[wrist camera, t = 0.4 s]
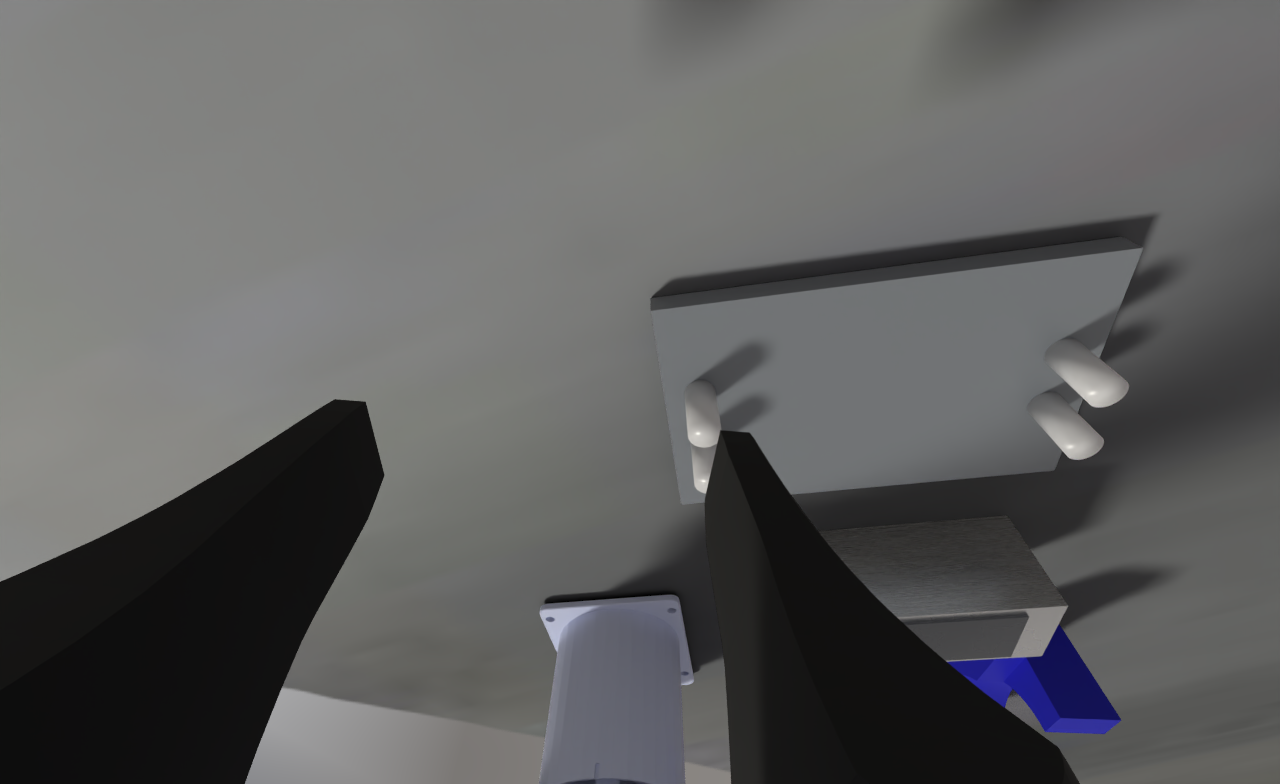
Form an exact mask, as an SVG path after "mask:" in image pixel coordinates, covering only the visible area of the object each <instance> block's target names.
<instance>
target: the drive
mask: <svg viewBox="0 0 1280 784" xmlns="http://www.w3.org/2000/svg"><path fill="white" fill-rule="evenodd" d="M818 532H819V533H820V534H821V536H822V537H823V538H824V539H825V540H826V542H827V543H828V544H829V545H830V547H831V548H832V549H833V550H834V552H835V553H836V554H837V555H838V556H839V557H840V559H841V560H842V561H843V562H844V563H845V564H846V565H847V567H848V568H849V569H850V570H851V571H852V572H853V573H854V574H855V575H856V576H857V578H858V579H859V580H860V581H861V582H862V583H863V584H864V585H865V586H866V587H867V588H868V589H869V590H870V591H871V592H872V593H873V595H874V596H875V597H876V598H877V599H878V600H880V601H881V602H882V603H883V604H884V605H885V606H886V607H887V608H888V609H889V610H890V611H891V612H892V613H893V614H894V615H895V616H896V617H897V618H898V619H899V620H900V621H902V622H903V623H904V624H905V625H906V626H907V627H908V628H909V629H910V630H911V631H912V632H913V633H915V634H916V635H917V636H918V637H919V638H920V639H921V640H922V641H923V642H924V643H925V644H927V645H928V646H929V647H930V648H931V649H932V650H933V651H935V652H936V653H937V654H938V655H939V656H940V657H942V658H943V659H944V660H945V661H946V662H951V661H968V660H985V659H1002V658H1019V657H1037V656H1042V655H1043V653H1044V651H1045V649H1046V648H1047V646H1048V644H1049V642H1050V640H1051V638H1052V636H1053V634H1054V632H1055V630H1056V628H1057V626H1058V625H1059V623H1060V621H1061V619H1062V617H1063V615H1064V613H1065V611H1066V609H1067V607H1068V605H1067V603H1066V602H1065V600H1064V599H1063V597H1062V596H1061V594H1060V593H1059V591H1058V590H1057V588H1056V587H1055V585H1054V584H1053V582H1052V581H1051V580H1050V578H1049V577H1048V575H1047V574H1046V572H1045V571H1044V569H1043V568H1042V566H1041V565H1040V563H1039V562H1038V560H1037V559H1036V557H1035V556H1034V554H1033V553H1032V551H1031V550H1030V548H1029V547H1028V545H1027V544H1026V542H1025V541H1024V539H1023V538H1022V536H1021V535H1020V534H1019V532H1018V531H1017V529H1016V528H1015V526H1014V525H1013V523H1012V522H1011V520H1010V519H1009V517H1008V516H1007V515H1006V516H994V517H982V518H970V519H958V520H946V521H934V522H922V523H910V524H898V525H886V526H874V527H862V528H851V529H839V530H827V531H818Z"/></svg>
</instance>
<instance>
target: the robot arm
mask: <svg viewBox="0 0 1280 784" xmlns="http://www.w3.org/2000/svg"><path fill="white" fill-rule="evenodd" d="M383 478H384V472H383V468H382V464H381V460H380V456H379V452H378V448H377V445H376V441H375V437H374V433H373V429H372V425H371V421H370V417H369V413H368V409H367V405H366V402H361V401H349V400H336V399H335V400H333V401H331V402H330V403H328V404H326V405H324V406H323V407H321V408H320V409H318V410H316V411H315V412H313V413H312V414H310V415H309V416H307V417H305V418H304V419H302V420H301V421H299V422H298V423H296V424H295V425H293V426H292V427H290V428H289V429H287V430H285V431H284V432H282V433H281V434H279V435H278V436H276V437H275V438H273V439H272V440H270V441H269V442H267V443H265V444H264V445H262V446H261V447H259V448H258V449H256V450H254V451H253V452H251V453H250V454H248V455H247V456H245V457H244V458H242V459H240V460H239V461H237V462H236V463H234V464H232V465H231V466H229V467H227V468H226V469H224V470H222V471H221V472H219V473H217V474H216V475H214V476H212V477H211V478H209V479H207V480H205V481H204V482H202V483H200V484H199V485H197V486H195V487H194V488H192V489H190V490H189V491H187V492H185V493H183V494H182V495H180V496H178V497H177V498H175V499H173V500H171V501H169V502H168V503H166V504H164V505H162V506H160V507H159V508H157V509H155V510H153V511H151V512H149V513H147V514H145V515H144V516H142V517H140V518H138V519H136V520H134V521H132V522H130V523H128V524H126V525H124V526H122V527H120V528H118V529H116V530H114V531H112V532H110V533H108V534H106V535H104V536H102V537H100V538H98V539H96V540H93V541H91V542H89V543H87V544H85V545H82V546H80V547H78V548H76V549H74V550H71V551H69V552H67V553H65V554H62V555H60V556H58V557H56V558H53V559H51V560H49V561H47V562H44V563H42V564H40V565H38V566H36V567H33V568H31V569H29V570H27V571H24V572H22V573H20V574H18V575H15V576H13V577H10V578H8V579H6V580H3V581H1V582H0V784H245V781H246V779H247V776H248V773H249V770H250V768H251V765H252V762H253V759H254V757H255V754H256V751H257V748H258V746H259V743H260V741H261V738H262V736H263V733H264V731H265V728H266V726H267V723H268V720H269V718H270V715H271V713H272V711H273V708H274V706H275V703H276V701H277V698H278V696H279V693H280V690H281V688H282V686H283V684H284V681H285V679H286V677H287V674H288V672H289V670H290V667H291V665H292V663H293V660H294V658H295V656H296V653H297V651H298V649H299V646H300V644H301V642H302V640H303V638H304V636H305V634H306V632H307V630H308V628H309V626H310V624H311V622H312V620H313V618H314V616H315V614H316V612H317V611H318V609H319V607H320V605H321V603H322V602H323V600H324V598H325V596H326V594H327V593H328V591H329V589H330V587H331V585H332V584H333V582H334V580H335V578H336V576H337V575H338V573H339V571H340V569H341V567H342V566H343V564H344V562H345V560H346V558H347V557H348V555H349V553H350V551H351V549H352V547H353V546H354V544H355V542H356V540H357V538H358V536H359V535H360V533H361V531H362V529H363V527H364V525H365V523H366V521H367V520H368V517H369V515H370V512H371V510H372V507H373V505H374V502H375V500H376V497H377V494H378V491H379V489H380V486H381V483H382V480H383ZM705 525H706V545H707V552H708V558H709V565H710V571H711V578H712V584H713V590H714V597H715V603H716V609H717V615H718V622H719V628H720V634H721V641H722V647H723V656H724V664H725V677H726V693H727V708H728V726H729V746H730V765H731V784H1080V783H1079V781H1078V780H1077V778H1076V776H1075V774H1074V773H1073V771H1072V769H1071V768H1070V766H1069V764H1068V762H1067V761H1066V759H1065V758H1064V756H1063V754H1062V753H1061V751H1060V749H1059V748H1058V747H1057V746H1056V745H1054V744H1053V743H1052V742H1050V741H1049V740H1048V739H1046V738H1045V737H1043V736H1042V735H1041V734H1039V733H1038V732H1037V731H1035V730H1034V729H1033V728H1031V727H1030V726H1029V725H1027V724H1026V723H1025V722H1023V721H1022V720H1020V719H1019V718H1018V717H1016V716H1015V715H1014V714H1012V713H1011V712H1010V711H1008V710H1007V709H1006V708H1004V707H1003V706H1002V705H1000V704H999V703H997V702H996V701H995V700H993V699H992V698H991V697H989V696H988V695H987V694H986V693H984V692H983V691H982V690H980V689H979V688H978V687H977V686H976V685H974V684H973V683H972V682H971V681H969V680H968V679H967V678H966V677H965V676H963V675H962V674H961V673H960V672H958V671H957V670H956V669H955V668H954V667H952V666H951V665H950V664H949V663H947V662H946V661H945V660H944V659H943V658H942V657H940V656H939V655H938V654H937V653H936V652H935V651H933V650H932V649H931V648H930V647H929V646H928V645H927V644H925V643H924V642H923V641H922V640H921V639H920V638H919V637H918V636H917V635H916V634H915V633H913V632H912V631H911V630H910V629H909V628H908V627H907V626H906V625H905V624H904V623H903V622H902V621H900V620H899V619H898V618H897V617H896V616H895V615H894V614H893V613H892V612H891V611H890V610H889V609H888V608H887V607H886V606H885V605H884V604H883V603H882V602H881V601H880V600H878V599H877V598H876V597H875V596H874V595H873V593H872V592H871V591H870V590H869V589H868V588H867V587H866V586H865V585H864V584H863V583H862V582H861V581H860V580H859V579H858V578H857V576H856V575H855V574H854V573H853V572H852V571H851V570H850V569H849V568H848V567H847V565H846V564H845V563H844V562H843V561H842V560H841V559H840V557H839V556H838V555H837V554H836V553H835V552H834V550H833V549H832V548H831V547H830V545H829V544H828V543H827V542H826V540H825V539H824V538H823V537H822V536H821V534H820V533H819V532H818V531H817V529H816V528H815V527H814V525H813V524H812V523H811V521H810V520H809V519H808V518H807V516H806V515H805V513H804V512H803V511H802V509H801V508H800V506H799V505H798V504H797V502H796V501H795V500H794V498H793V497H792V495H791V494H790V493H789V491H788V490H787V488H786V487H785V485H784V484H783V482H782V481H781V479H780V478H779V476H778V475H777V473H776V472H775V470H774V469H773V467H772V466H771V464H770V463H769V461H768V460H767V458H766V456H765V455H764V453H763V452H762V450H761V448H760V447H759V445H758V444H757V442H756V440H755V439H754V437H753V436H752V435H751V434H750V432H737V431H725V430H720V434H719V438H718V443H717V447H716V451H715V456H714V460H713V465H712V469H711V474H710V478H709V482H708V487H707V491H706V496H705ZM540 616H541V618H542V620H543V622H544V625H545V627H546V629H547V631H548V633H549V636H550V638H551V640H552V642H553V644H554V647H555V649H556V651H557V659H556V666H555V673H554V681H553V688H552V695H551V702H550V709H549V716H548V723H547V730H546V737H545V744H544V751H543V758H542V765H541V772H540V779H539V784H685V766H684V740H683V716H682V692H681V685H688V684H692V683H693V682H694V675H693V669H692V664H691V659H690V653H689V648H688V643H687V638H686V632H685V627H684V622H683V616H682V611H681V606H680V601H679V598H678V597H677V596H675V595H657V596H643V597H630V598H616V599H603V600H589V601H576V602H562V603H549V604H544V605H542V606H541V607H540Z"/></svg>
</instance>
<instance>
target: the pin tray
mask: <svg viewBox="0 0 1280 784" xmlns="http://www.w3.org/2000/svg"><path fill="white" fill-rule="evenodd" d="M1142 250H1143V247H1141V246H1139V245H1137V244H1135V243H1134V242H1132V241H1130V240H1128V239H1126V238H1124V237H1114V238H1107V239H1099V240H1092V241H1084V242H1076V243H1069V244H1061V245H1053V246H1046V247H1038V248H1030V249H1023V250H1015V251H1007V252H1000V253H992V254H984V255H977V256H969V257H961V258H954V259H946V260H938V261H931V262H923V263H915V264H908V265H900V266H893V267H885V268H877V269H870V270H862V271H854V272H847V273H839V274H831V275H824V276H816V277H808V278H801V279H793V280H785V281H778V282H770V283H762V284H755V285H747V286H739V287H732V288H724V289H716V290H709V291H701V292H694V293H686V294H678V295H671V296H663V297H655V298H651V317H652V323H653V329H654V336H655V342H656V348H657V355H658V361H659V367H660V373H661V380H662V386H663V392H664V399H665V405H666V411H667V418H668V424H669V430H670V437H671V443H672V449H673V456H674V462H675V468H676V474H677V481H678V487H679V493H680V500H681V505H682V504H693V503H704V502H705V496H706V491H707V487H708V482H709V478H710V474H711V469H712V465H713V460H714V456H715V451H716V447H717V443H718V438H719V434H720V430H725V431H737V432H750V434H751V435H752V436H753V437H754V439H755V440H756V442H757V444H758V445H759V447H760V448H761V450H762V452H763V453H764V455H765V456H766V458H767V460H768V461H769V463H770V464H771V466H772V467H773V469H774V470H775V472H776V473H777V475H778V476H779V478H780V479H781V481H782V482H783V484H784V485H785V487H786V488H787V490H788V491H789V493H790V494H791V495H792V494H803V493H814V492H825V491H836V490H847V489H858V488H869V487H880V486H891V485H902V484H913V483H924V482H935V481H946V480H957V479H968V478H979V477H990V476H1001V475H1012V474H1023V473H1034V472H1045V471H1055V468H1056V466H1057V463H1058V461H1059V458H1060V456H1061V453H1062V451H1063V452H1064V453H1065V454H1066V455H1067V456H1068V457H1069V458H1070V459H1074V460H1081V459H1086V458H1088V457H1091V456H1093V455H1094V454H1096V453H1097V452H1098V451H1100V449H1101V448H1102V447H1103V444H1104V440H1103V438H1102V437H1101V436H1100V435H1099V434H1098V433H1097V432H1096V431H1095V430H1094V429H1093V428H1092V427H1091V426H1090V425H1089V424H1088V423H1087V422H1086V421H1085V420H1084V419H1083V418H1082V417H1081V416H1080V415H1079V414H1078V411H1079V408H1080V406H1081V403H1082V401H1083V398H1084V399H1085V400H1086V401H1087V402H1088V403H1089V404H1090V405H1091V406H1093V407H1099V408H1100V407H1107V406H1110V405H1112V404H1115V403H1116V402H1118V401H1119V400H1121V399H1122V398H1123V397H1124V396H1125V395H1126V393H1127V392H1128V389H1129V384H1128V382H1127V381H1126V380H1125V379H1124V378H1122V377H1121V376H1120V375H1119V374H1118V373H1116V372H1115V371H1114V370H1113V369H1112V368H1110V367H1109V366H1108V365H1107V364H1106V363H1104V362H1103V361H1102V360H1101V359H1099V358H1100V356H1101V353H1102V351H1103V348H1104V346H1105V343H1106V341H1107V338H1108V336H1109V333H1110V331H1111V328H1112V326H1113V323H1114V321H1115V318H1116V316H1117V313H1118V311H1119V308H1120V306H1121V303H1122V301H1123V298H1124V296H1125V293H1126V291H1127V288H1128V286H1129V283H1130V280H1131V278H1132V275H1133V273H1134V270H1135V268H1136V265H1137V263H1138V260H1139V258H1140V255H1141V253H1142Z"/></svg>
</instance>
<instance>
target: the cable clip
mask: <svg viewBox="0 0 1280 784" xmlns="http://www.w3.org/2000/svg"><path fill="white" fill-rule="evenodd" d="M947 663H949V664H950V665H951V666H952V667H954V668H955V669H956V670H957V671H958V672H960V673H961V674H962V675H963V676H965V677H966V678H967V679H968V680H969V681H971V682H972V683H973V684H974V685H976V686H977V687H978V688H979V689H980V690H982V691H983V692H984V693H986V694H987V695H988V696H989V697H991V698H992V699H993V700H995V701H996V702H997V703H999V704H1000V705H1002V706H1003V707H1004V708H1005V705H1006V702H1007V698H1008V696H1009V694H1010V692H1011V691H1012V689H1013V690H1015V691H1016V692H1017V693H1018V694H1019V695H1020V696H1021V698H1022V699H1023V700H1024V701H1025V702H1026V703H1027V705H1028V706H1029V707H1030V709H1031V710H1032V711H1033V713H1034V714H1035V716H1036V717H1037V719H1038V720H1039V722H1040V724H1041V725H1042V727H1043V729H1044V731H1045V732H1064V733H1093V734H1105V733H1106V732H1107V731H1109V730H1110V729H1111V728H1112V727H1114V726H1115V725H1116V724H1117V723H1119V722H1120V721H1121V719H1120V717H1119V716H1118V714H1117V713H1116V711H1115V710H1114V708H1113V706H1112V705H1111V703H1110V702H1109V700H1108V699H1107V697H1106V696H1105V694H1104V693H1103V691H1102V689H1101V688H1100V686H1099V685H1098V683H1097V682H1096V680H1095V679H1094V677H1093V676H1092V674H1091V672H1090V671H1089V669H1088V668H1087V666H1086V665H1085V663H1084V662H1083V660H1082V659H1081V657H1080V656H1079V654H1078V652H1077V651H1076V649H1075V648H1074V646H1073V645H1072V643H1071V642H1070V640H1069V639H1068V637H1067V635H1066V634H1065V632H1064V631H1063V629H1062V628H1061V626H1060V625H1058V626H1057V628H1056V630H1055V632H1054V634H1053V636H1052V638H1051V640H1050V642H1049V644H1048V646H1047V648H1046V649H1045V651H1044V653H1043V655H1042V656H1037V657H1019V658H1002V659H985V660H968V661H951V662H947Z"/></svg>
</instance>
